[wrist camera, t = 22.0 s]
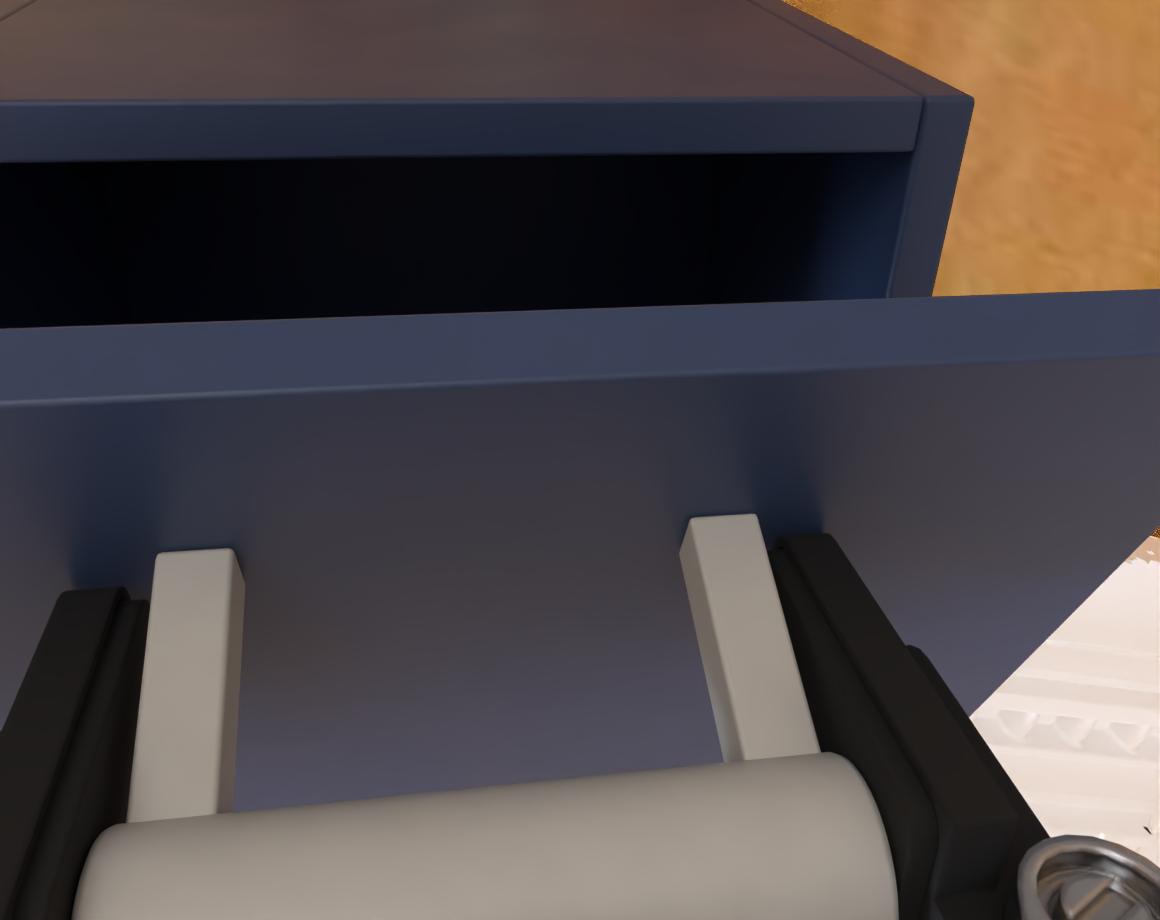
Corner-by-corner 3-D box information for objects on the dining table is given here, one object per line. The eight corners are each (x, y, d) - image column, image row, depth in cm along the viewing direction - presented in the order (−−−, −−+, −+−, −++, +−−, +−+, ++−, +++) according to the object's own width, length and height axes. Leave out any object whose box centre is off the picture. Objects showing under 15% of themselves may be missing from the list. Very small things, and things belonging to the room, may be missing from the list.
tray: (1159, 925, 49) (1210, 1003, 45) (575, 877, 42) (587, 964, 39) (1454, 573, 39) (1545, 639, 36) (758, 435, 32) (794, 502, 29)
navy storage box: (32, -23, 22) (-215, 101, 13) (756, -14, 24) (978, 96, 15) (163, 574, 30) (69, 907, 21) (695, 538, 32) (816, 824, 23)
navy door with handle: (-627, 347, 8) (-1206, 1182, 5) (1297, 281, 10) (1685, 815, 7) (66, 906, 21) (23, 1215, 18) (818, 822, 23) (887, 1083, 20)
